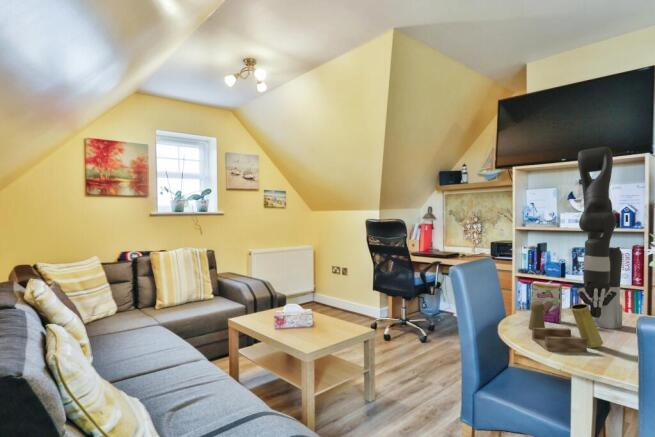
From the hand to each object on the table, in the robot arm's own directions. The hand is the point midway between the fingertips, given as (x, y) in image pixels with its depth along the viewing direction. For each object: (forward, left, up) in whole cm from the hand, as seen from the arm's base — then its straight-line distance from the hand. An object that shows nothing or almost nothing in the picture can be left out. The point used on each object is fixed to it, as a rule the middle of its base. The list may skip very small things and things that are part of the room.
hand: (595, 317), depth 129 cm
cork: (+11, -18, -11) cm, 24 cm away
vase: (0, 0, -10) cm, 10 cm away
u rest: (+12, 0, -11) cm, 16 cm away
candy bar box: (+1, -31, -11) cm, 33 cm away
